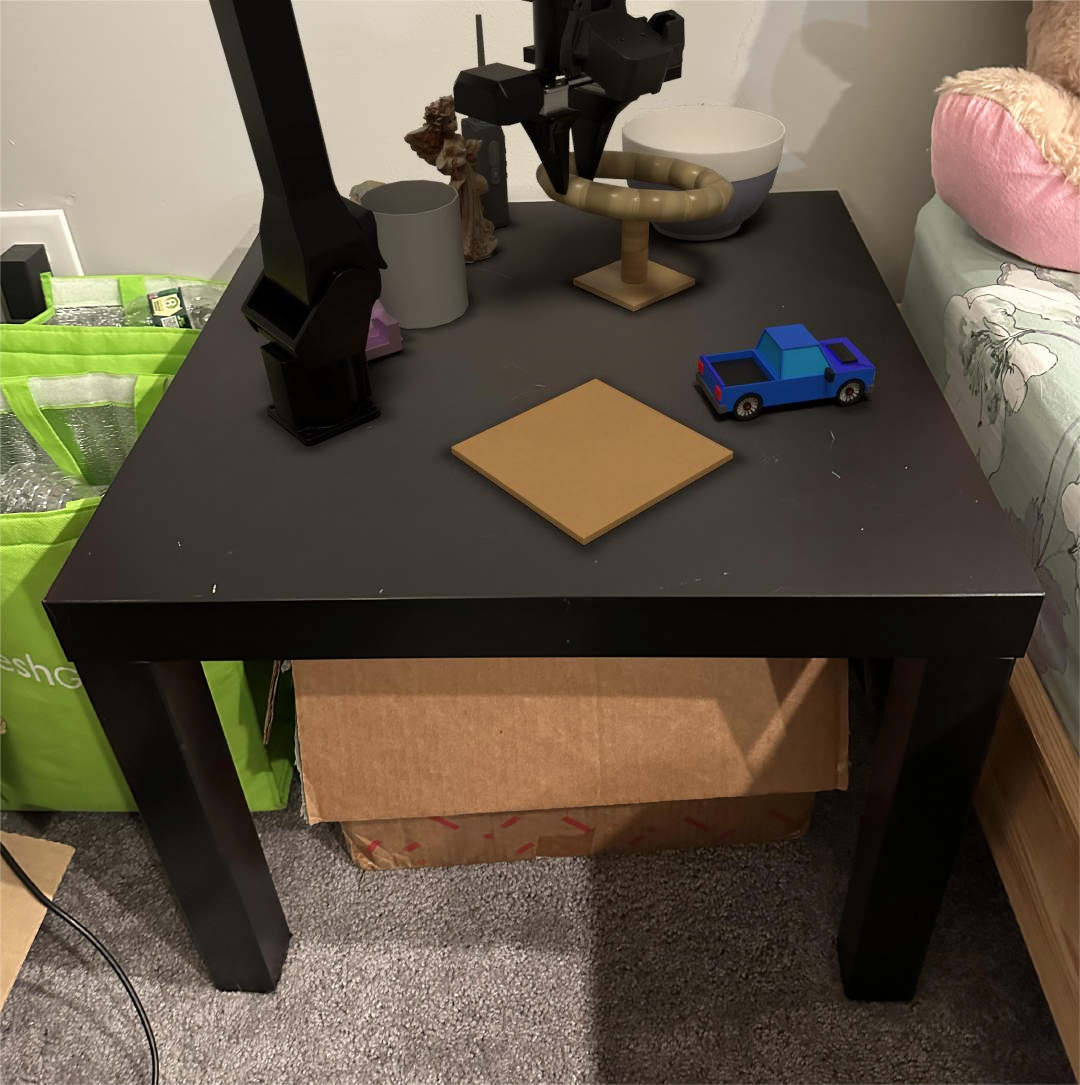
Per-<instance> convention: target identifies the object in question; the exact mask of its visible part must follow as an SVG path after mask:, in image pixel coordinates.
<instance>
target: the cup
mask: <svg viewBox="0 0 1080 1085" xmlns="http://www.w3.org/2000/svg"><path fill="white" fill-rule="evenodd" d="M448 184H449V183H445V182H443V181H438V180H437V181H436V180H429V179H408V180H397V181H393V182H388V183H386V184H383V185H380V186H377V187H375V188H373V189H370V190H368V191H366V192H365V193H364V194H363V195H362V196H361V197H360V198H359V199H358V200H359V205H361V206H363V207H365V208H367V209H369V210H371V211H373V213H374V217H375V220H376V224H377V236H378V246H379V250H380V253H381V255H382V258H383V259H384V260H385V262H386V263H387V265H388V268H387V269H385V270H384V269H380V268H379V270H380V273H381V282H382V290H381V296H380V298H379V301H380V302H381V304H382V306H383V307H384V309H385V311H386V312H387V313H388V314H389V315H391V316H392V317H393V318H395V319H396V320H397V321H398V322H399V328H402V329H408V330H409V329H410V330H411V329H412V330H413V329H431V328H435V327H438V326H442V325H446V324H449V323H452V322H453V321H455V320H456V319H458V318H460V317H462V316H463V315H464V314H465V312H466V311H467V309H468V308H469V294H468V284H467V283H468V282H467V272H466V263H465V260H464V248H463V237H462V226H461V215H460V204H459V194H458V192H457V191H456V189H455V187H453V186H450V185H448Z"/></svg>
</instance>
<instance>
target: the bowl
mask: <svg viewBox="0 0 1080 1085" xmlns="http://www.w3.org/2000/svg"><path fill="white" fill-rule="evenodd" d="M786 133H787V129H786V127H785V125H784V124H783V122H781V121H780V120H779V119H778V118H775V117H773V116H772V115H769V114H767V113H763V112H761V111H755V110H752V109H749V108H742V107H736V106H725V105H707V104H706V105H683V106H681V105H680V106H674V107H673V106H671V107H664V108H658V109H655V110H649V111H646V112H643V113H639V114H637V115H635V116H633V117H631V118H630V119H628V120H627V121H626V122H625V123H624V124H623V126H622V127H621V144H622V145H621V147H622V151H624V152H638V153H644V154H650V155H657V156H663V157H669V158H675V159H680V160H683V161H686V162H690V163H693V164H696V165H700V166H703V167H706V168H710V169H712V170H714V171H715V172H717V173H718V174H720V175H721V176H722V177H724V178H725V179H727V180H728V181H729V182H730V183H731V184H732V185H733V187H734V198H733V200H732V202H731V203H730V204H729V206H728V207H727V208H726V209H725V210H724V211H723V213H722V214H721V215H719V216H718V217H715V218H710V219H703V220H697V221H690V222H684V223H669V222H651V224H652V227H653V228H654V230H656V231H657V232H658V233H660V234H661V235H663V236H666V237H669V238H672V239H675V240H682V241H692V242H697V241H698V242H700V241H701V242H702V241H703V242H704V241H715V240H720V239H723V238H726V237H729V236H731V235H733V234H735V233H737V232H738V230H739V229H740V228H741V224H743V223H744V222H745V221H746V220H748V219H749V218H750V217H752V216H753V215H754V214H755V213H756V212H757V211H758V210H759V208H760V207H761V205H762V204H763V202H764V201H765V199H766V197H767V196H768V194H769V193H770V191H771V190H772V188H773V185H774V182H775V179H776V175H777V173H778V170H779V166H780V163H781V160H782V155H783V149H784V144H785V140H786V139H785V138H786ZM626 185H627V187H628V188H634V189H647V190H667V191H683V190H680V189H677V188H674V187H671V186H665V185H659V184H653V183H647V182H641V181H636V180H626Z"/></svg>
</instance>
